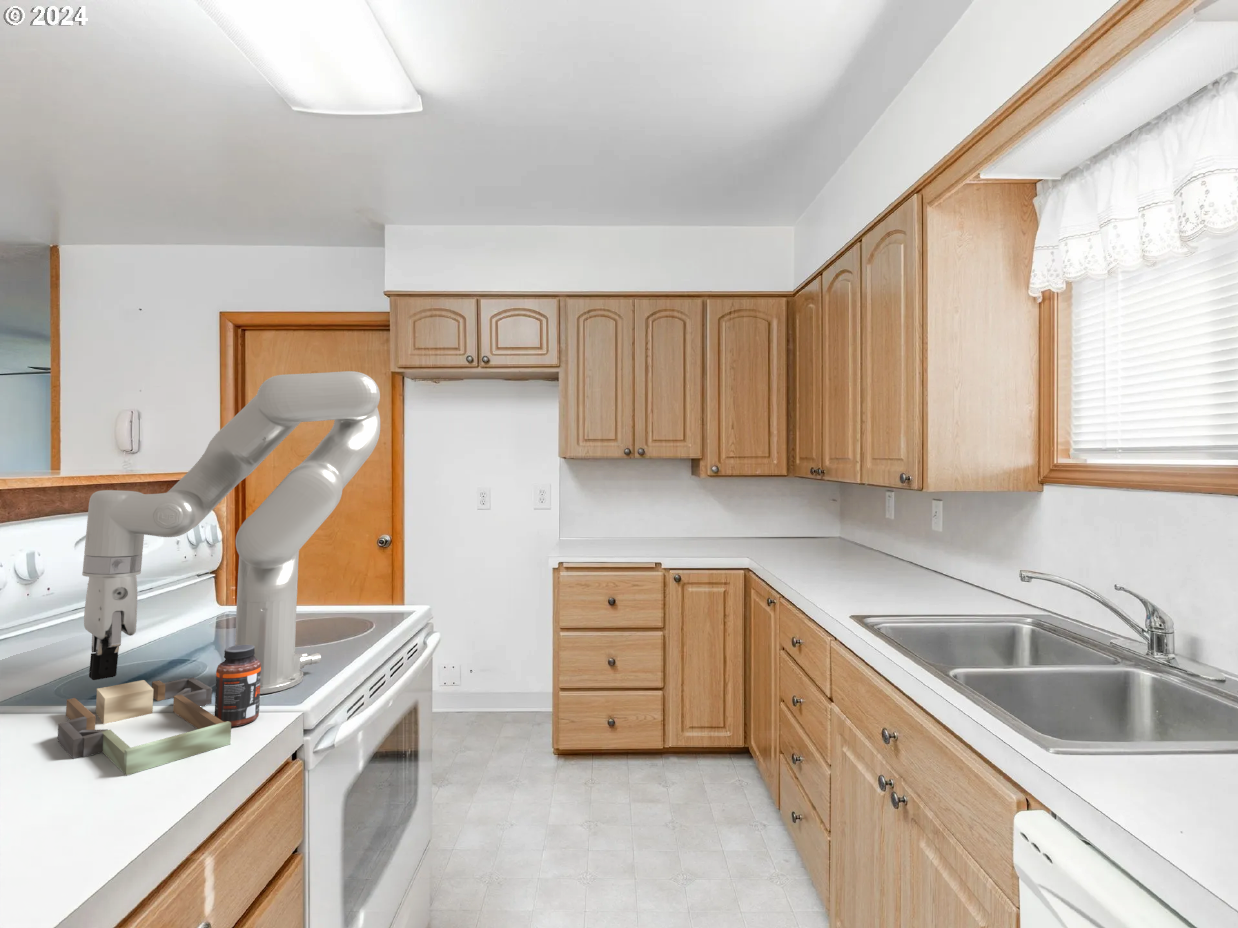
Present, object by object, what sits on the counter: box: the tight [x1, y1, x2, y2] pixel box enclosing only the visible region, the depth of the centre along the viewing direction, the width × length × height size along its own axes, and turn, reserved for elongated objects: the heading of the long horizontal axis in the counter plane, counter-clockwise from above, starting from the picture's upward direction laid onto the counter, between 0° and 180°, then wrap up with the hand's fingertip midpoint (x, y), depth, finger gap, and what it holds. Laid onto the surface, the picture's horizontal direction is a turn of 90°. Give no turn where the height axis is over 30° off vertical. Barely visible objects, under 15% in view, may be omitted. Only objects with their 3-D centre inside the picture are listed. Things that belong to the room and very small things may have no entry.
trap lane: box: [57, 677, 232, 776], centre depth 93 cm, size 19×29×3 cm, turn 53°
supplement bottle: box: [213, 645, 261, 728], centre depth 96 cm, size 6×6×11 cm
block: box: [95, 679, 154, 725], centre depth 98 cm, size 6×6×4 cm
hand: (102, 676), depth 102 cm, fingers closed
